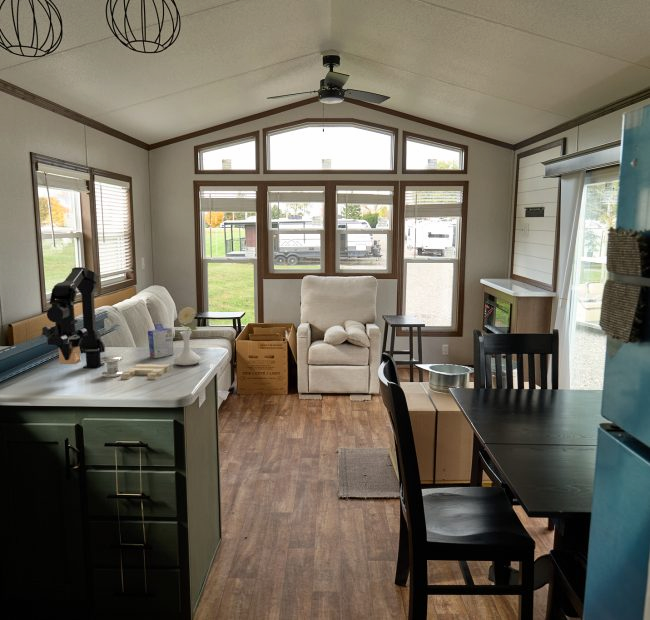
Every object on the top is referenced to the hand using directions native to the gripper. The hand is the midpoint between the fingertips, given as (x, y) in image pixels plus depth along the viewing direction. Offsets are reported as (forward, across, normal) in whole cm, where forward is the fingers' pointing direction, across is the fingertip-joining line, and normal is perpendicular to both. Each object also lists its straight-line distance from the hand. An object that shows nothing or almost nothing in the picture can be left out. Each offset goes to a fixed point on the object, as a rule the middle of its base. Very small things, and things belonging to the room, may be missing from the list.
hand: (69, 358), depth 216 cm
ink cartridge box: (+9, -45, +18) cm, 49 cm away
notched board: (+9, -13, +24) cm, 29 cm away
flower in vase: (+9, -29, +36) cm, 47 cm away
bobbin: (+9, -11, +11) cm, 18 cm away
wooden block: (+2, 0, 0) cm, 2 cm away
